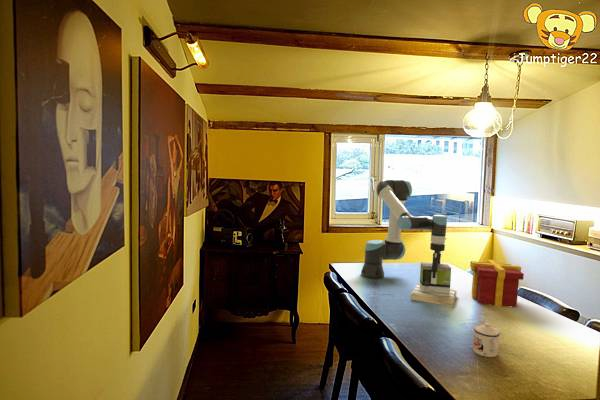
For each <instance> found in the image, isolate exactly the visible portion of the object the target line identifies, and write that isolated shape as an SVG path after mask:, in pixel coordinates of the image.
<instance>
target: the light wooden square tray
mask: <svg viewBox="0 0 600 400" xmlns="http://www.w3.org/2000/svg"><path fill="white" fill-rule="evenodd" d="M456 298H457V290H456V289H455V288H454V289H453V288H450V294H446V293H433V292H422V291H421V288H420V283H417V284H416V285H415V287H414V288H413V290H412V291H411V293H410V300H413V301H418V302H425V303H429V304H434V305H435V304H437V305H441V306H447V307H455V302H456Z"/></svg>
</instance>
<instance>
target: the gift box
mask: <svg viewBox="0 0 600 400" xmlns="http://www.w3.org/2000/svg"><path fill="white" fill-rule="evenodd" d="M469 266H470V271H471V272H472V284H471V285H472V286H471V298H472V300H476V302H477V301H478V302H477V303H478V304H479V303H481V305H489V304H491V306H495V307H499V306H502V307H508V306H512V307H511V308H517V307H518V306H517V305H518V296H519V293H518V292H519V284H520V280H521V281H523V280H524V273H523V272H522V266H520V265H512V264H509V263H506V264H505V263H498V262H496V261H495V260H493V259H487V260H486V262H485V261H483V262H482V261H472V260H470V265H469Z"/></svg>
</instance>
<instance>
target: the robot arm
mask: <svg viewBox="0 0 600 400" xmlns="http://www.w3.org/2000/svg"><path fill="white" fill-rule="evenodd" d="M412 193H413V188H412V183H411V182H410V181H409V180H408V179H403V178H384V179H382V180H381V181H379V182H378V183H377V185H376V195H377V197H378V198H379V199H380V200H382V201H383V202H384V203H385V204H386V206H387V207H388V208H389V209H390V210H389V219H388V228H387V236H386V237H385V238H384V240H381V239H372V240H371V239H370V240H367V241H366V243H365V246H364V261H363V265H362V269H361V272H360V275H361V276H362V277H365V278H368V279H373V280H375V279H377V280H378V279H383V278H385V271H384V266H383V261H389V260H391V261H396V260H401V259H402V258H404V256H405V254H406V245H405V243H404V241H403V240H402V237H401V236H402V230H404V231H413V230H419V231H422V230H425V231H430V232H431V233H430V247H429V248H430V250H431V251H434V252H433V254H432V262H431V263H432V270H430V272H432V276H431V284H436V281H437V267H438V264H441V257H442V253H441V252H444V251H445V249H446V244H445V243H446V240H447V237H446V235H447V234H446V233H447V225H448V224H447V223H448V222H447V219H448V218H447V215H443V214H433V215H432V216H429V215H421V216H414V215H412V214H411V213H410V211H408V209H407V208H406V207H405V203H406V202H408V198H410V197H411V195H412Z"/></svg>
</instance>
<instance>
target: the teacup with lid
mask: <svg viewBox="0 0 600 400" xmlns="http://www.w3.org/2000/svg"><path fill="white" fill-rule="evenodd" d="M473 330H474V334H473V335H474V336H473V346H472V347H473V348H472V350H473V351H474V353H475V354H477V355H479V356H482V357H485V358H496V357H497V355H498V353H499V339H500V331H499V330H498V329H497V328H495V327H493V326H491V323H489V322H485V323H484V324H481V325H476V326H475V327H474V328H473Z"/></svg>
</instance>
